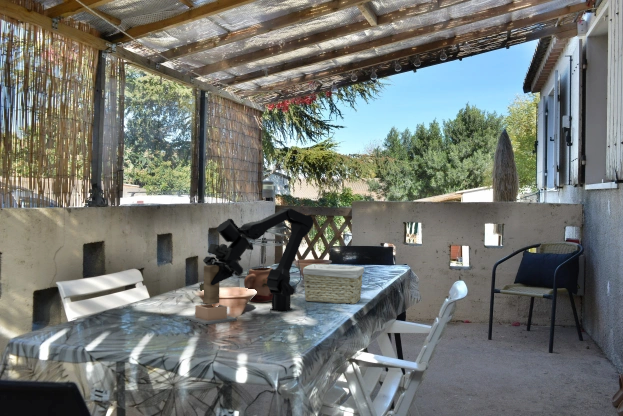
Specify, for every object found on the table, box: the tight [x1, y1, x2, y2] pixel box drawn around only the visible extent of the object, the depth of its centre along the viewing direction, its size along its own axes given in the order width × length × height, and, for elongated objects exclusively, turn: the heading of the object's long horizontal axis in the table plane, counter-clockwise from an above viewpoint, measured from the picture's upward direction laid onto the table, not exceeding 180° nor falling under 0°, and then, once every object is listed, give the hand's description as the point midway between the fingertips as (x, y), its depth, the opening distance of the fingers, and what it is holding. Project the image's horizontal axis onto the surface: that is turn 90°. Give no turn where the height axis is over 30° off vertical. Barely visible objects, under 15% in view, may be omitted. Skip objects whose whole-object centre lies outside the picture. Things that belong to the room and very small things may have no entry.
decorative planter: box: [244, 267, 273, 303], centre depth 252 cm, size 20×12×14 cm, turn 152°
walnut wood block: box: [202, 265, 220, 304], centre depth 212 cm, size 4×4×13 cm
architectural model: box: [235, 273, 248, 288], centre depth 286 cm, size 20×25×10 cm
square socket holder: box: [185, 303, 238, 326], centre depth 213 cm, size 13×13×5 cm
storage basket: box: [302, 263, 365, 305], centre depth 258 cm, size 24×16×15 cm
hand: (208, 283), depth 212 cm, fingers closed on walnut wood block, 4 cm apart
